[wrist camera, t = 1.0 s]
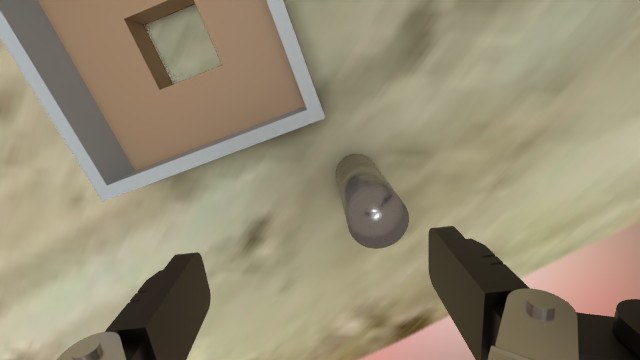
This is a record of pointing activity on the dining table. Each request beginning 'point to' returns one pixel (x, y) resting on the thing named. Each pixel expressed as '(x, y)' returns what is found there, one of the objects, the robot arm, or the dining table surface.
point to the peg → (370, 203)
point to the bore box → (158, 83)
